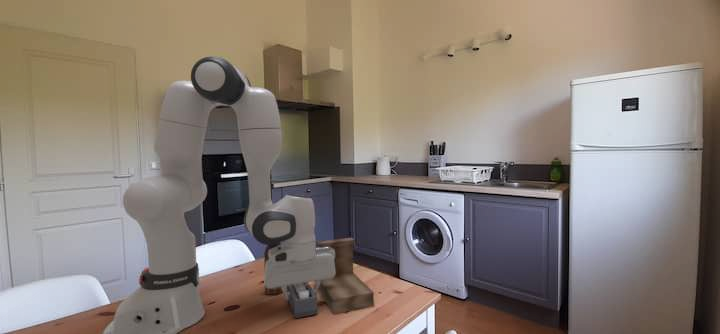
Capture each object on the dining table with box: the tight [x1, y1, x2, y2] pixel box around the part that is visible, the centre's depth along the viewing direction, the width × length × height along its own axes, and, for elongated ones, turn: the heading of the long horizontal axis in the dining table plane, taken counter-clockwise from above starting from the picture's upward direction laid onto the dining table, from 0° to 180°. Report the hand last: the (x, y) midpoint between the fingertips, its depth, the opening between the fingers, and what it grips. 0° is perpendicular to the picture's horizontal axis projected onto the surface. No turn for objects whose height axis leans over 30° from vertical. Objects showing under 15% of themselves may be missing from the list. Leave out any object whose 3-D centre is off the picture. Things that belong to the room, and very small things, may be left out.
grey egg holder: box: [286, 282, 318, 319], centre depth 94 cm, size 6×14×5 cm, turn 21°
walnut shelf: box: [316, 237, 375, 315], centre depth 99 cm, size 12×18×16 cm, turn 21°
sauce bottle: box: [263, 242, 284, 295], centre depth 104 cm, size 6×6×20 cm
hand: (301, 297), depth 94 cm, fingers closed on grey egg holder, 6 cm apart
